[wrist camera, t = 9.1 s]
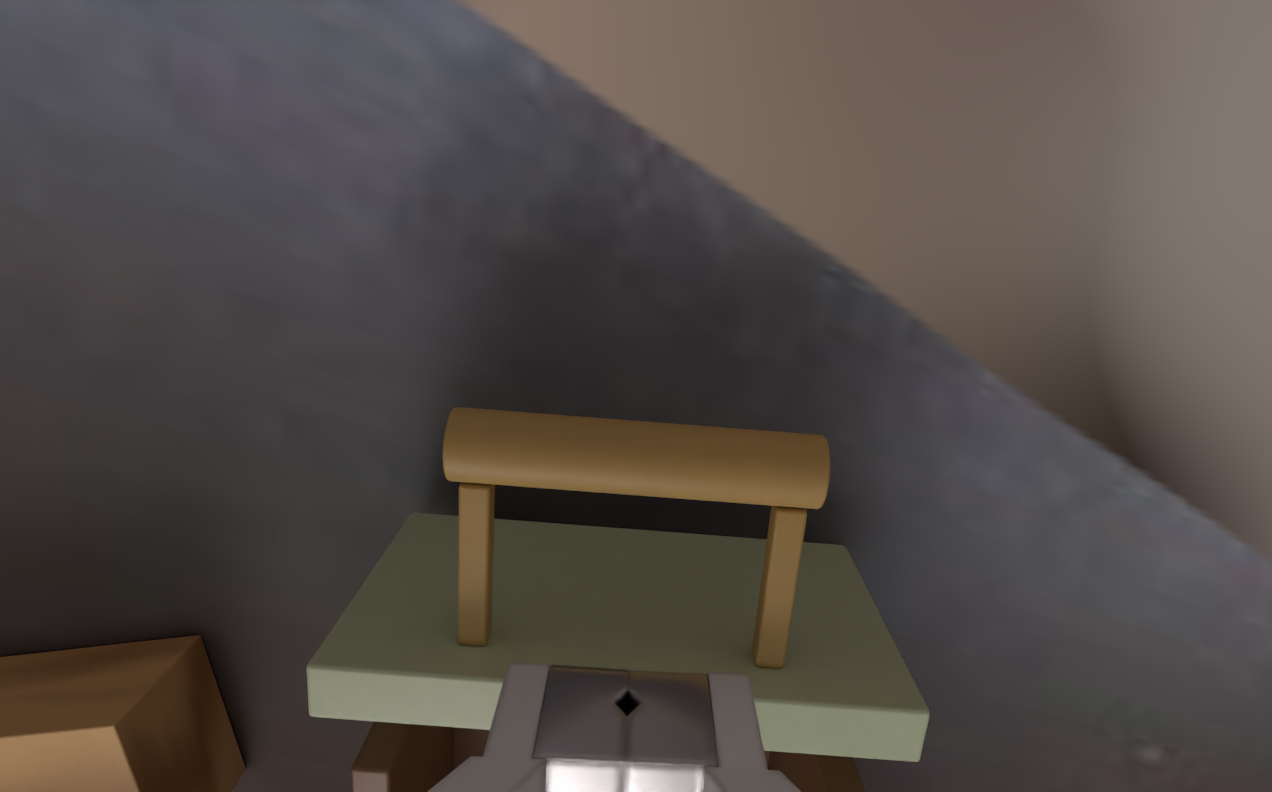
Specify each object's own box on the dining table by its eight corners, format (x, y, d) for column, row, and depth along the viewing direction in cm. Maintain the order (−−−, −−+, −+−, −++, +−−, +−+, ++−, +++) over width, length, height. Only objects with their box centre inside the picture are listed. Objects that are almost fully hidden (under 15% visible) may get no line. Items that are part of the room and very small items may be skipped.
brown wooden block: (-49, 661, 24) (-182, 756, 20) (201, 634, 23) (113, 726, 20) (10, 792, 25) (-105, 904, 21) (246, 769, 25) (173, 879, 21)
